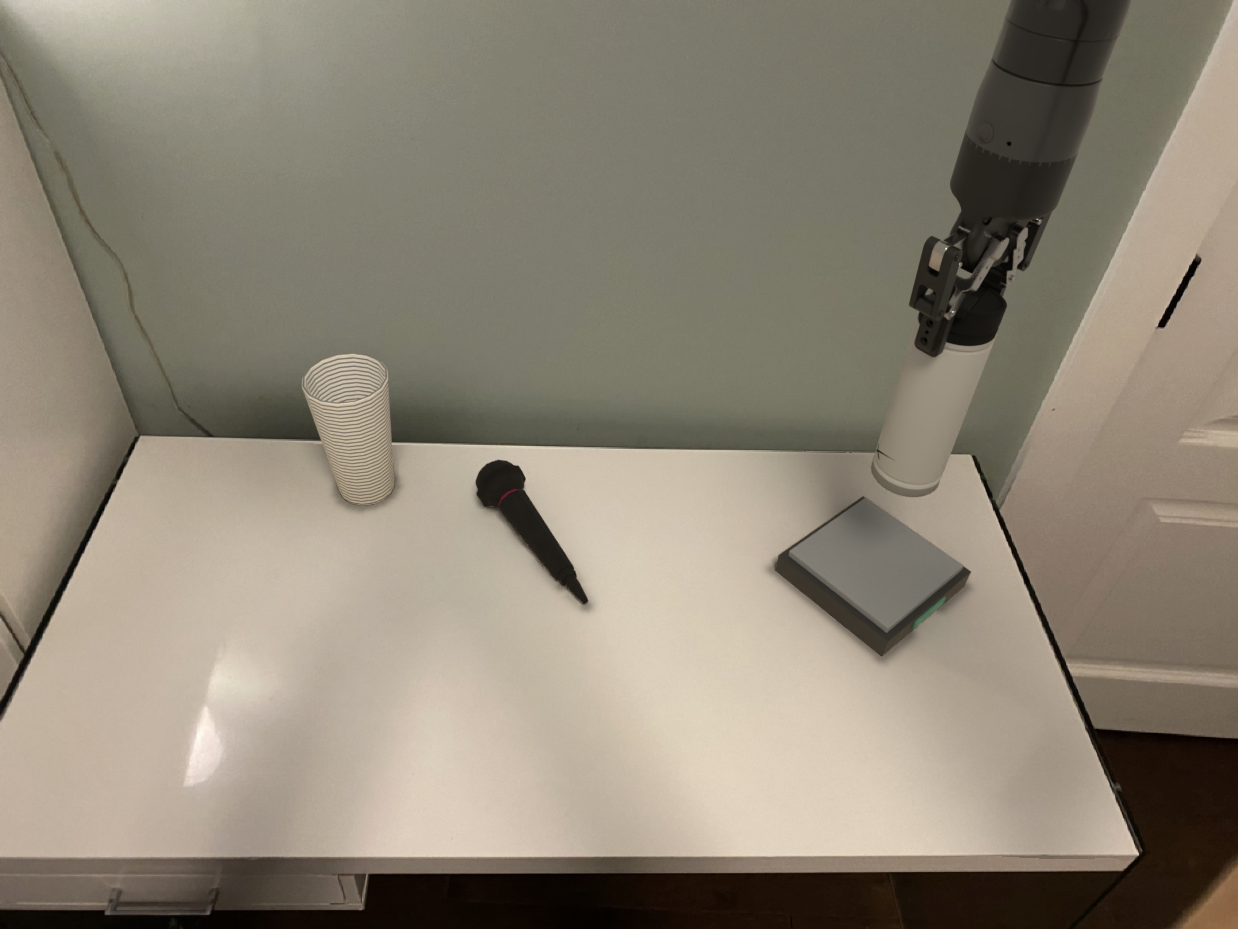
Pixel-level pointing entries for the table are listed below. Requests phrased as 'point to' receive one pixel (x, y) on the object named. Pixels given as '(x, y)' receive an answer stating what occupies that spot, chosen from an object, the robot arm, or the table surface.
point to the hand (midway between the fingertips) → (953, 334)
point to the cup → (353, 423)
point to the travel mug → (935, 398)
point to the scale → (872, 573)
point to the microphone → (526, 519)
